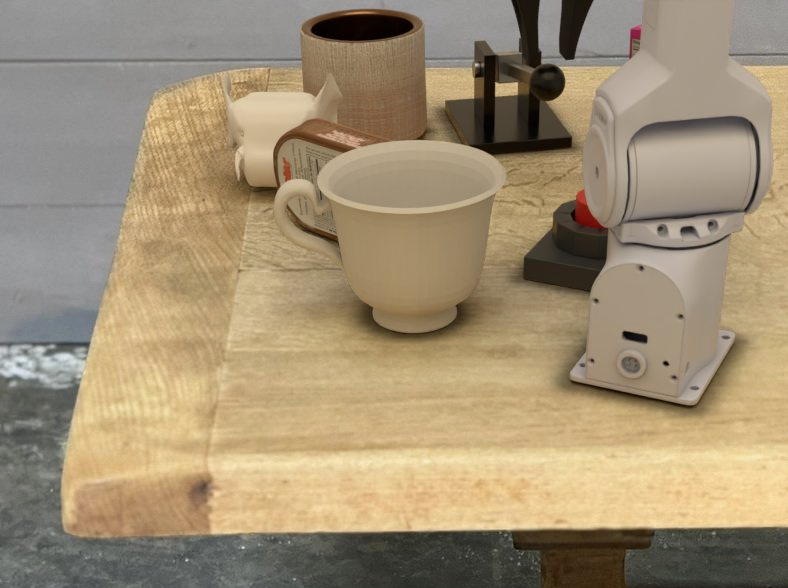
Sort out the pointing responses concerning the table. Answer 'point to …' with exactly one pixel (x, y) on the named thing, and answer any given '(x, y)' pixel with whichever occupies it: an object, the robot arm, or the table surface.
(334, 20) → the planter
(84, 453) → the table surface
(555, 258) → the button box
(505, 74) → the lever
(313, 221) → the tin
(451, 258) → the teacup
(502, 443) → the table surface
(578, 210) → the button
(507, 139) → the bracket
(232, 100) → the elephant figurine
